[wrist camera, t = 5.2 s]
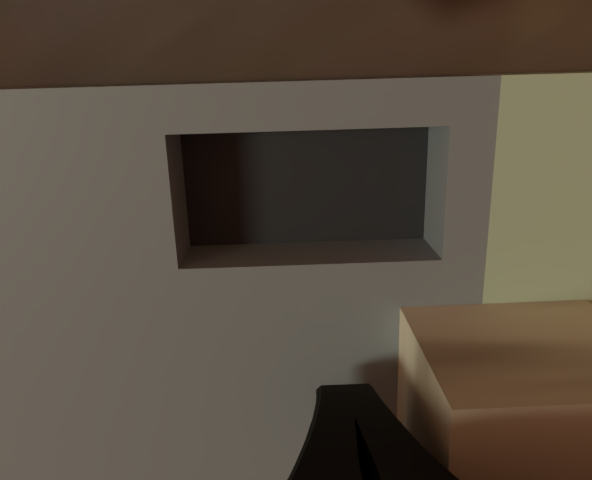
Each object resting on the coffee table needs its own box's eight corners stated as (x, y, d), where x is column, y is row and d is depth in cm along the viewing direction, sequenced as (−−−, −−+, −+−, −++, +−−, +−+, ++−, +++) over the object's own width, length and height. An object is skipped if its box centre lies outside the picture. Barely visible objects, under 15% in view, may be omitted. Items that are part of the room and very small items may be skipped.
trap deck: (634, 548, 18) (677, 606, 16) (-14, 577, 17) (-51, 640, 15) (734, 66, 13) (811, 66, 11) (-141, 91, 13) (-215, 95, 11)
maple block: (564, 455, 14) (670, 600, 10) (395, 463, 14) (439, 611, 10) (586, 299, 13) (719, 398, 9) (399, 307, 13) (452, 410, 9)
